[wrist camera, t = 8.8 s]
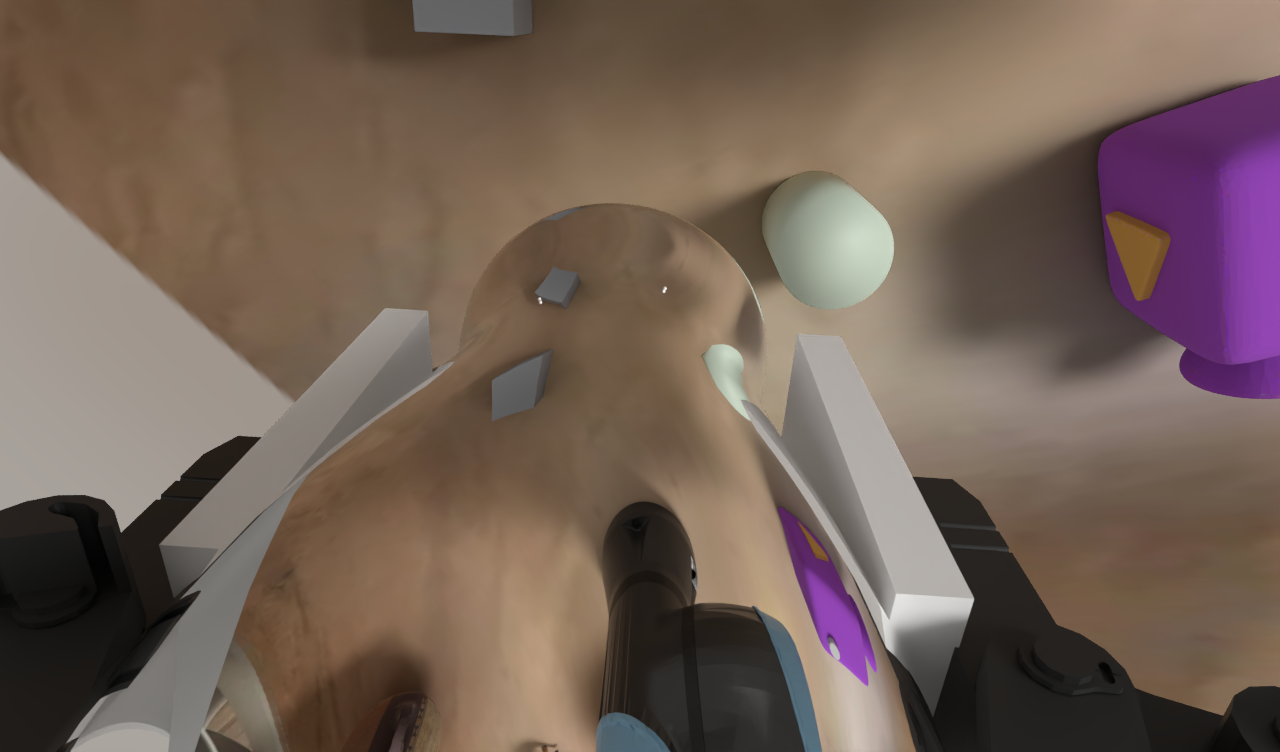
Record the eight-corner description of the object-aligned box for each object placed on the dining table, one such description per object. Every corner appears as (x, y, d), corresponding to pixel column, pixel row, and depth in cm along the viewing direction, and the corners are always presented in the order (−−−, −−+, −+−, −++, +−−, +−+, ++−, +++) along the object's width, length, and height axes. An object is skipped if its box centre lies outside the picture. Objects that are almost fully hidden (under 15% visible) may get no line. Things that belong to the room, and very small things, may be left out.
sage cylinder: (767, 168, 37) (785, 194, 32) (869, 173, 37) (904, 200, 32) (756, 266, 40) (770, 306, 34) (852, 271, 40) (882, 312, 34)
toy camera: (1125, 377, 42) (1252, 478, 33) (1043, 157, 37) (1167, 203, 28) (1338, 282, 39) (1540, 363, 30) (1280, 31, 34) (1501, 37, 25)
